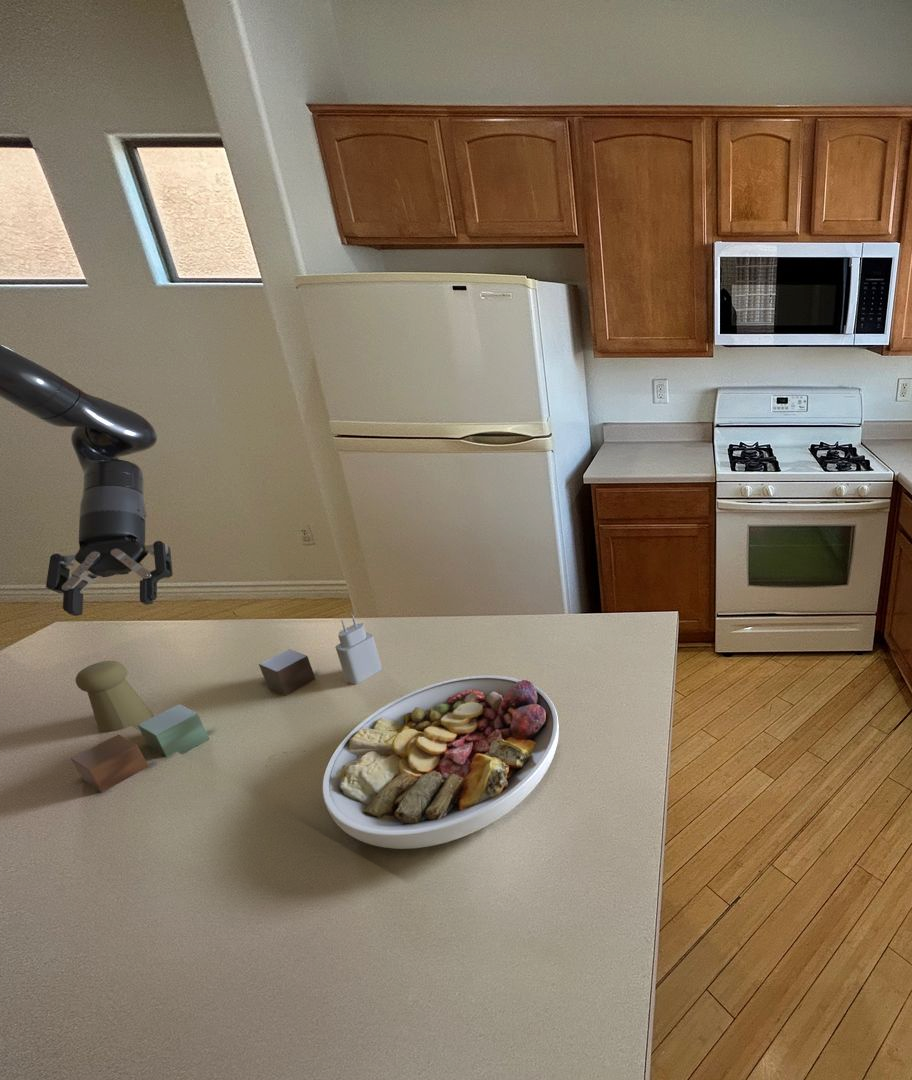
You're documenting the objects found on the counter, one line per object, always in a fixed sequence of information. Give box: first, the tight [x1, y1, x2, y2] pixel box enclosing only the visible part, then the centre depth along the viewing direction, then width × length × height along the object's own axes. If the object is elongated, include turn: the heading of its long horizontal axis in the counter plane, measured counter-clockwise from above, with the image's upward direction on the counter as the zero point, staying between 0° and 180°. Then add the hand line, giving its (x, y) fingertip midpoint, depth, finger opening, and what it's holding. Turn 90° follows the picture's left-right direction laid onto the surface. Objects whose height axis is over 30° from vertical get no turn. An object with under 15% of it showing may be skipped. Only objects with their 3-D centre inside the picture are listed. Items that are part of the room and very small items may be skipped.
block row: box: [70, 648, 316, 793], centre depth 86 cm, size 28×5×5 cm, turn 156°
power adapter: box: [334, 614, 383, 685], centre depth 97 cm, size 3×5×12 cm, turn 156°
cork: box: [75, 660, 154, 733], centre depth 85 cm, size 6×6×11 cm
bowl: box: [321, 675, 560, 850], centre depth 79 cm, size 30×30×8 cm
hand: (111, 608), depth 89 cm, fingers open, 8 cm apart
